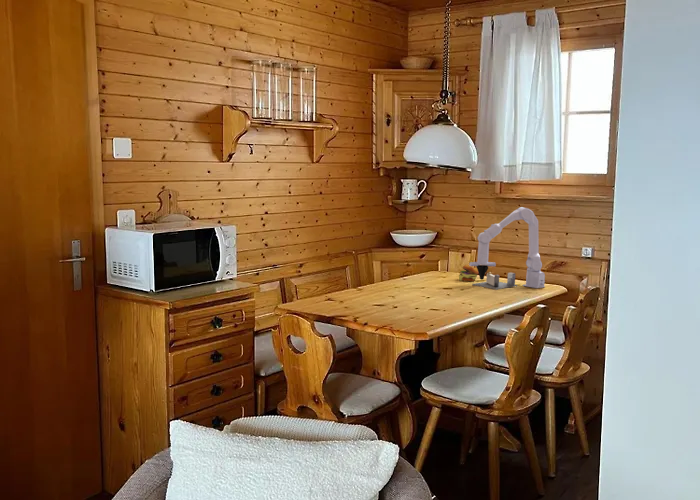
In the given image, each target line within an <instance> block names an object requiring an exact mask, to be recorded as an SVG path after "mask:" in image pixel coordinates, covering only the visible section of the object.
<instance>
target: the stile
mask: <svg viewBox="0 0 700 500" xmlns="http://www.w3.org/2000/svg"><path fill="white" fill-rule="evenodd" d="M506 279H507V281H506V283H507V284H508V286H514V285H516V273H515V272H507V278H506Z"/></svg>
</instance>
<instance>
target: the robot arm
mask: <svg viewBox="0 0 700 500" xmlns="http://www.w3.org/2000/svg"><path fill="white" fill-rule="evenodd" d="M520 220H523V221H524V222H525V223H526V224H528V254H527V259H526V261H525V265H526V267H527V268H526V277H525V279H526V280H525V284H522V286H523V287H528V288H533V289H540V288H541V289H542V288H545V287H546V286H545V283H546V281H545V280H546V278H545V277H546V275H545V272H543V271H541V269H542V268H543V263H542V259H541V255H540V253H539V251H540V250H539V245H540V244H539V242H540V241H539V237H540V236H539V219H538V218H537V216H536V215H535V213H534V210H533V211H532V209H530V208H528V207H523V206H521V207H518V208H516V209H515V210H513V211H512V212H511V213H510V214H508V215H507V216H506V217H505V218H504V219H502V220H501V221H500V222H499V223H494V224H493V223H492V224H490V226H489V227H488V228H487V229H483V231H484V232H480V233H479V234H478V236H477V237H476V238H477V240H478V246H477V247H478V248H477V260H476V261H473V262H472V261H471V262H469V263H468V265H469V266H471V267H475V268H477V269H478V272H479V273H478V276H479V280H481V281H482V280H483V281H484V279H485V276H486V274H487V271H488V270H489V267H496V265H497V263H496V262H494V261H493V262H491V261H489V253H490V242H491V241H492V240H493V239H494V238H496V236H498V235H499V234H501V233H502V230H503V228H505V227H506V226H508V225H510V224H511V223H512V222H514V221H520Z"/></svg>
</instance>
